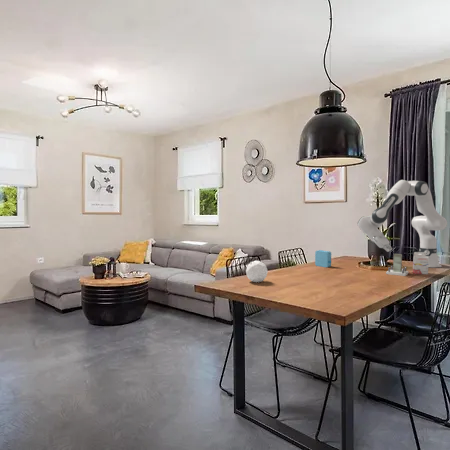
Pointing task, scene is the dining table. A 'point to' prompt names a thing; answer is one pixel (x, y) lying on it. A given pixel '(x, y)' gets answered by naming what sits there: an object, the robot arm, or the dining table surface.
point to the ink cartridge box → (420, 263)
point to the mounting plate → (397, 273)
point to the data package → (323, 258)
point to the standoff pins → (392, 269)
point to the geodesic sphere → (256, 271)
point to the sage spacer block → (397, 263)
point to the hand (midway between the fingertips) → (390, 250)
